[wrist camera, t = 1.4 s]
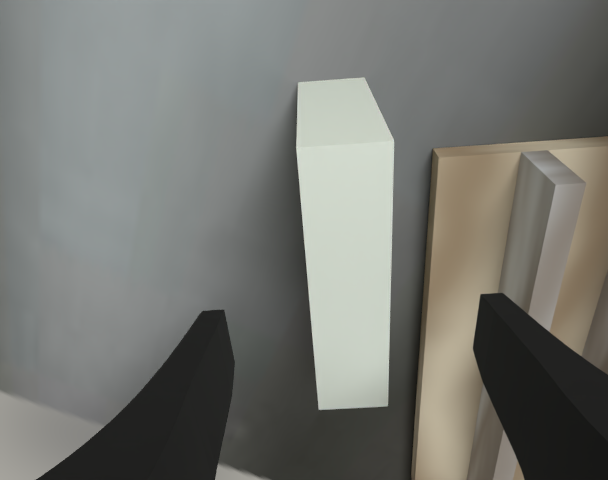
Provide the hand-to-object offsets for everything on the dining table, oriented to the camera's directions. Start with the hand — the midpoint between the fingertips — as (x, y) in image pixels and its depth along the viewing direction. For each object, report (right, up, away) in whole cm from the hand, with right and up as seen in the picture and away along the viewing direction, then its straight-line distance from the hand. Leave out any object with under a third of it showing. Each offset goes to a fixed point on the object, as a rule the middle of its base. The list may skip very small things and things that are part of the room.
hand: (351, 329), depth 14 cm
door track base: (+11, -3, +11) cm, 16 cm away
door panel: (0, +4, +7) cm, 8 cm away
